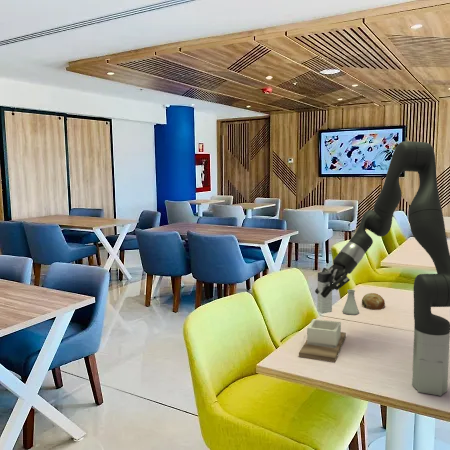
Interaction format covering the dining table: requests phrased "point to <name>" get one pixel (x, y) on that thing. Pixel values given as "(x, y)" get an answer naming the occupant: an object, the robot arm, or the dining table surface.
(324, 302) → the grey tall bar
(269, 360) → the dining table surface
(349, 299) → the flask
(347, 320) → the dining table surface
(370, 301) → the bread roll
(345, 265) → the robot arm
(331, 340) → the pale open square box
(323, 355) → the serving board
